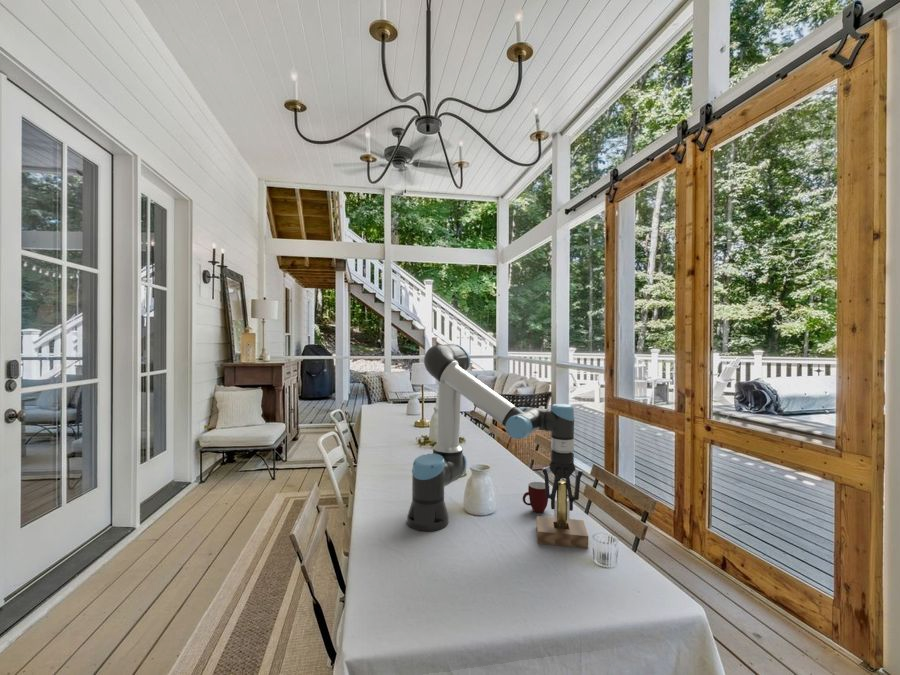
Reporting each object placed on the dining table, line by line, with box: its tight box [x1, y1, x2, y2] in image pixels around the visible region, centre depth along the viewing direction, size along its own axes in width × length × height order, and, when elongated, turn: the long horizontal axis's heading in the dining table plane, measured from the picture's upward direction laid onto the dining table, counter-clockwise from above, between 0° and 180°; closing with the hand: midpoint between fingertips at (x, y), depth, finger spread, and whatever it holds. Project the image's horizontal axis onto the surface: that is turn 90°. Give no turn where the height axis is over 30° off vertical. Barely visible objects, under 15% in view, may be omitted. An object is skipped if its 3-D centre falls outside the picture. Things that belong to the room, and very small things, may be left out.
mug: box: [522, 481, 549, 514], centre depth 164 cm, size 10×8×10 cm
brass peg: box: [556, 480, 568, 529], centre depth 142 cm, size 3×3×16 cm
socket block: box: [536, 515, 589, 549], centre depth 143 cm, size 16×12×4 cm
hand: (561, 518), depth 143 cm, fingers closed on brass peg, 3 cm apart
